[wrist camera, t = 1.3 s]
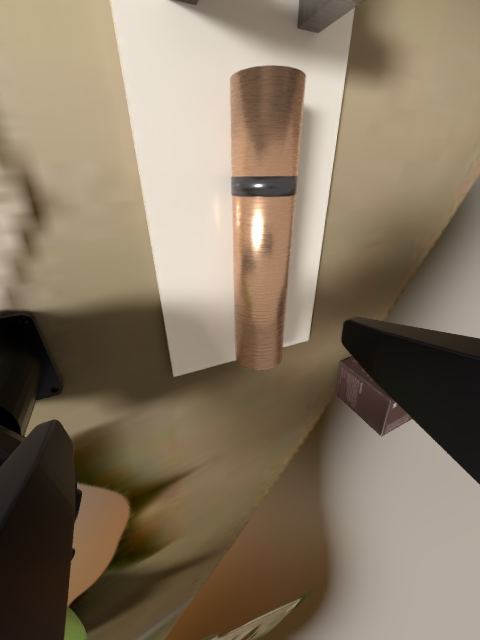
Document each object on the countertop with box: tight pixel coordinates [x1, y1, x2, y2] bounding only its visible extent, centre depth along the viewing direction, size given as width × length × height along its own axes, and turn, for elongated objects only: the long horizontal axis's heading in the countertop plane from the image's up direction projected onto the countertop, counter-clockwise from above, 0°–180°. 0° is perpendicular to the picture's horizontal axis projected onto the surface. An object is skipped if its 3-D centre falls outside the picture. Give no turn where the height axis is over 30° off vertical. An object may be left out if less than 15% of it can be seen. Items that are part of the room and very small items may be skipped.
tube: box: [230, 65, 306, 370], centre depth 18 cm, size 18×4×4 cm, turn 1°
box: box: [337, 357, 412, 436], centre depth 32 cm, size 6×6×7 cm
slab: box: [110, 0, 355, 377], centre depth 17 cm, size 33×14×1 cm, turn 1°
